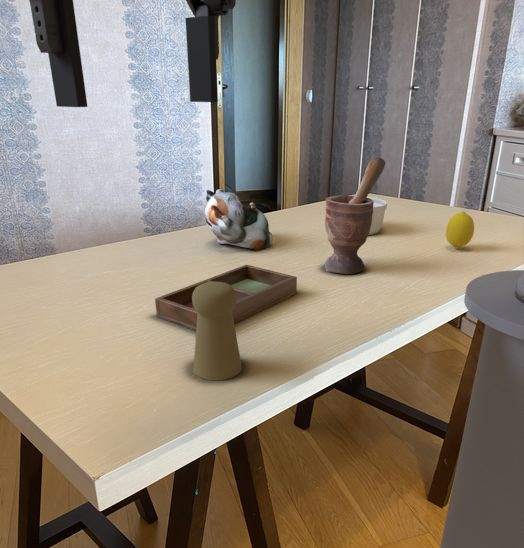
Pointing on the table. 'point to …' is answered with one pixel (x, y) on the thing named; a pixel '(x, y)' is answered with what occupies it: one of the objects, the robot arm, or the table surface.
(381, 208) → the ramekin
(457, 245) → the lemon
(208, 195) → the lucky cat figurine
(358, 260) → the mortar and pestle
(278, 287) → the divided wooden tray
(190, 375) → the table surface
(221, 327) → the olive pepper mill
